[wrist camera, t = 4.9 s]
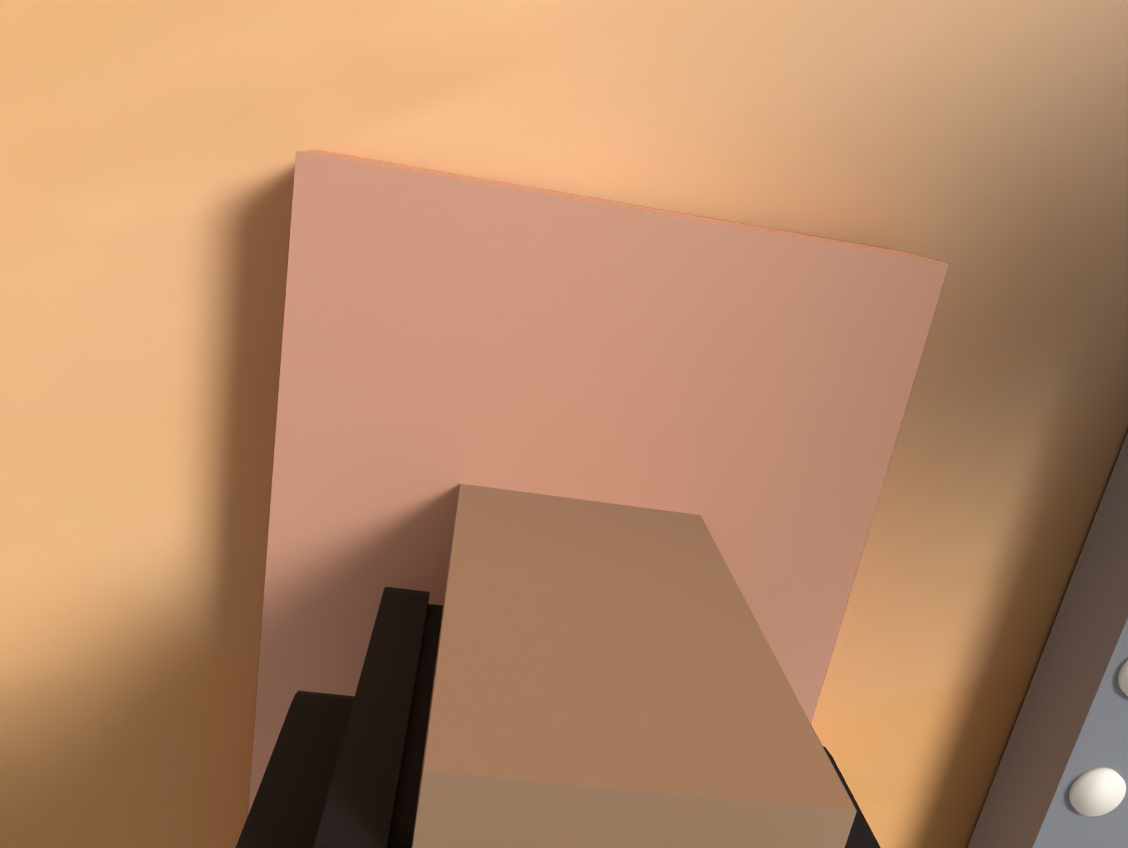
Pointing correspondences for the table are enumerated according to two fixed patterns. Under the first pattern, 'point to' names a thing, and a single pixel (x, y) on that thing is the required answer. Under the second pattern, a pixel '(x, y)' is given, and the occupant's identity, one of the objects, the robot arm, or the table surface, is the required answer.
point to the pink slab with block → (582, 496)
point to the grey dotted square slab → (1074, 708)
